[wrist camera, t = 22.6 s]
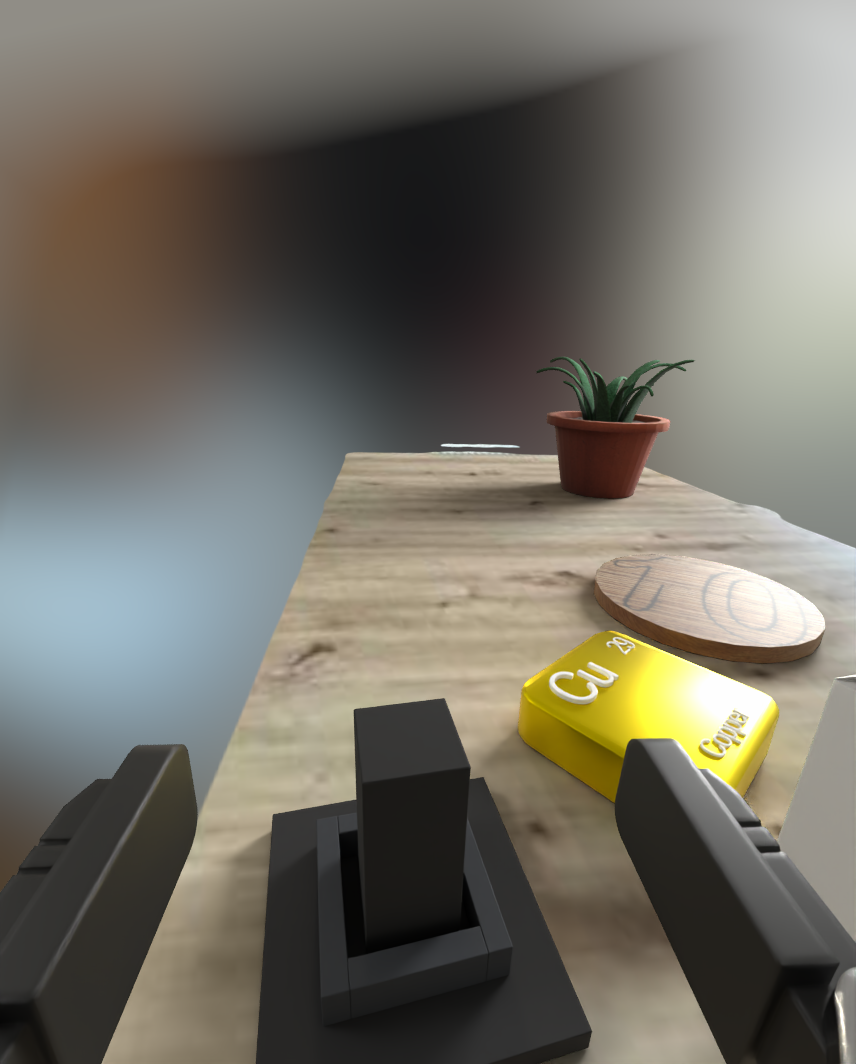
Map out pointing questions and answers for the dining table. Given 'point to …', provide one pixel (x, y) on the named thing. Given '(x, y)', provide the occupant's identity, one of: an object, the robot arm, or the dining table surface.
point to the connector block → (410, 821)
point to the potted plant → (606, 433)
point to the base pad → (408, 959)
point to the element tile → (642, 712)
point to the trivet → (709, 608)
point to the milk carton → (828, 808)
